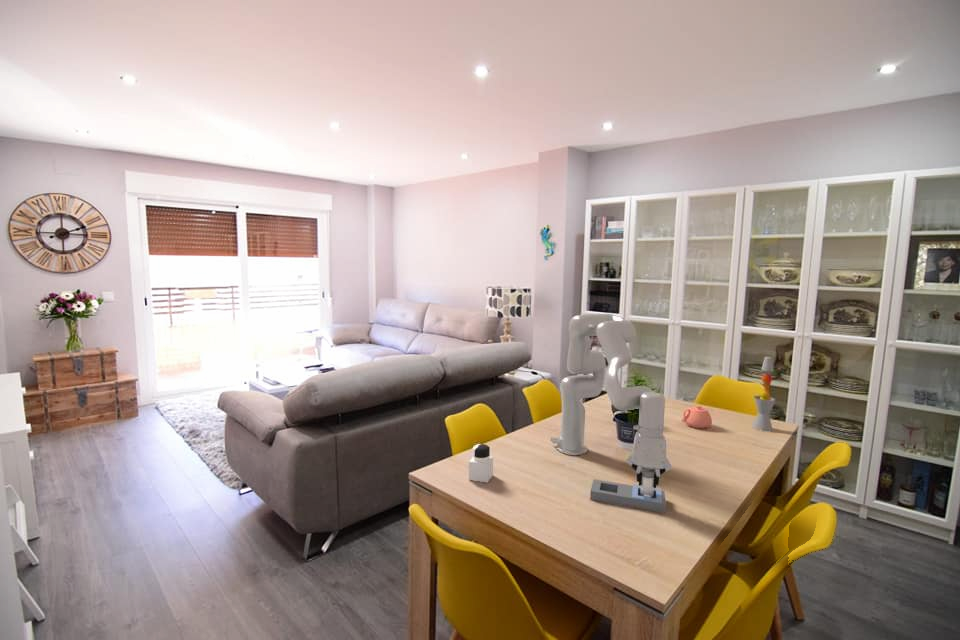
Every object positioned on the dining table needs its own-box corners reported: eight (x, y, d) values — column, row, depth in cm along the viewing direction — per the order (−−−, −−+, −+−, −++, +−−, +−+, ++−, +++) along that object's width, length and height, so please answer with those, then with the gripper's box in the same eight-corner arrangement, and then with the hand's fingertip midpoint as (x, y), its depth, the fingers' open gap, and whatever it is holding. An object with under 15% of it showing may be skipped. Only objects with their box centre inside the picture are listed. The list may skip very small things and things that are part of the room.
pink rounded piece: (716, 430, 216) (717, 409, 214) (686, 430, 216) (688, 409, 215) (704, 421, 228) (705, 402, 227) (676, 421, 228) (677, 401, 227)
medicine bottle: (493, 475, 167) (493, 443, 165) (487, 483, 160) (487, 451, 159) (475, 472, 169) (475, 441, 168) (468, 480, 162) (468, 448, 161)
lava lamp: (752, 423, 225) (758, 354, 221) (773, 427, 220) (780, 356, 216) (750, 429, 218) (756, 357, 214) (772, 433, 213) (779, 359, 209)
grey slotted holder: (590, 499, 150) (590, 486, 149) (593, 487, 158) (593, 475, 158) (665, 513, 142) (665, 499, 142) (664, 499, 151) (664, 486, 150)
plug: (639, 500, 147) (641, 471, 146) (640, 494, 151) (641, 465, 149) (653, 502, 145) (655, 473, 144) (653, 496, 149) (654, 467, 148)
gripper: (622, 431, 145) (619, 485, 147) (679, 438, 139) (675, 495, 141) (623, 423, 152) (621, 475, 154) (678, 430, 146) (674, 484, 148)
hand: (647, 484), depth 148 cm, fingers closed on plug, 4 cm apart
